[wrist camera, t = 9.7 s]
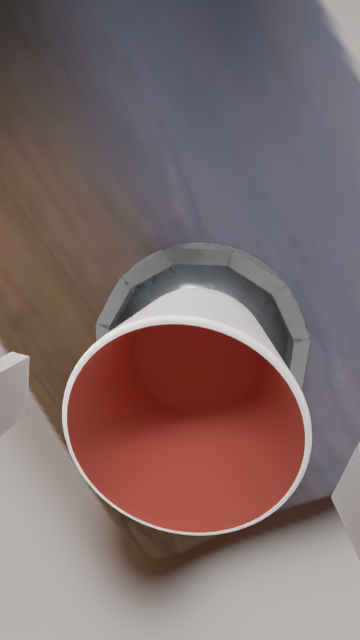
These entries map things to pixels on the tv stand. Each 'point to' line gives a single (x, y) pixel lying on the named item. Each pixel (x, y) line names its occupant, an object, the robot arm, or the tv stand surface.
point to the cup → (188, 417)
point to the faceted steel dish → (221, 275)
